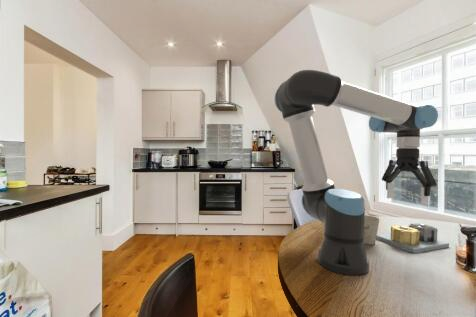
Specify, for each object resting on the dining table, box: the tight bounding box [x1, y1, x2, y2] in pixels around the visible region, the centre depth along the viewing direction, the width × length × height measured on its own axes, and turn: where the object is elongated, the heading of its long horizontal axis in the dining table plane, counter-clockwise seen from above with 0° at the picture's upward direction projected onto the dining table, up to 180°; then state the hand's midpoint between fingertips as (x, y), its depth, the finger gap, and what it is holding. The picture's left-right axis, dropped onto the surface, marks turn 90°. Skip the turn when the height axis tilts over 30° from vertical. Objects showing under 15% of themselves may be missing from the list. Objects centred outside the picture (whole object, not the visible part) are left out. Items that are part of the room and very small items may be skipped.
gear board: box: [376, 225, 450, 254], centre depth 98 cm, size 20×16×7 cm
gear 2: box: [408, 223, 438, 242], centre depth 99 cm, size 9×9×6 cm
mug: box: [363, 215, 380, 246], centre depth 98 cm, size 8×13×10 cm, turn 78°
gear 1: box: [390, 224, 420, 245], centre depth 96 cm, size 9×9×5 cm
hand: (405, 201), depth 96 cm, fingers open, 13 cm apart
